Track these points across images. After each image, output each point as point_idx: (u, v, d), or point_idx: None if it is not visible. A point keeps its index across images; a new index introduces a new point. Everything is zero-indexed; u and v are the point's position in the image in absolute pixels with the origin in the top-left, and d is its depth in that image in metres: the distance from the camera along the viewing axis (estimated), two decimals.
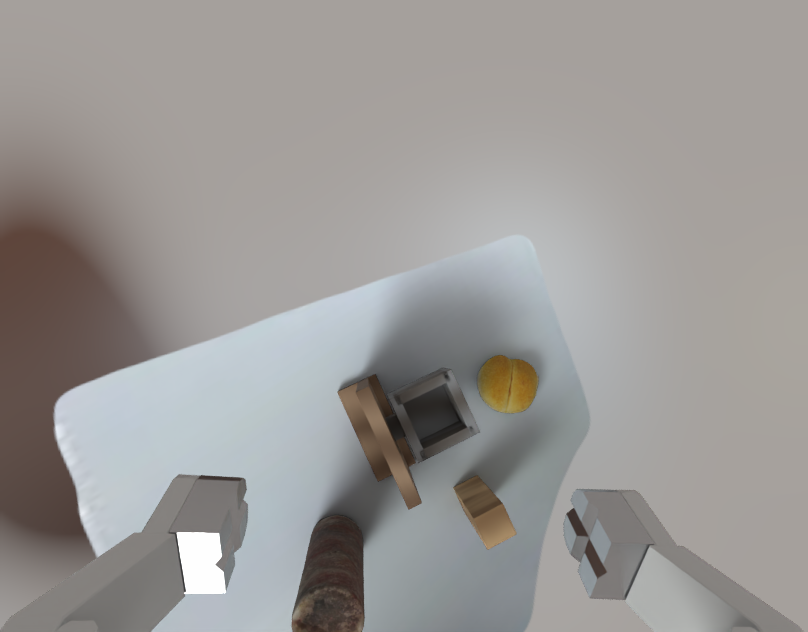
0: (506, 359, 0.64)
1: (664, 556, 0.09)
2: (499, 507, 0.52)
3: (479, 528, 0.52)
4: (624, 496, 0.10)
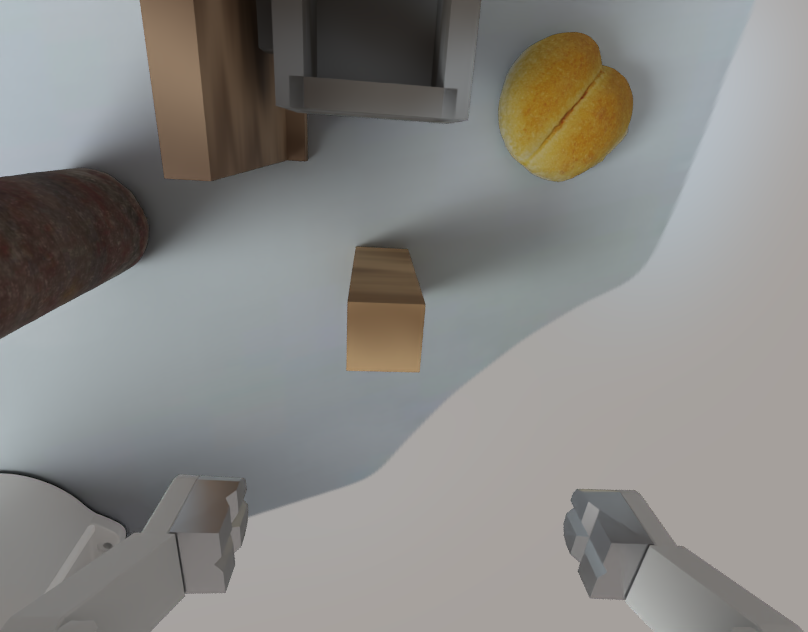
0: (598, 50, 0.27)
1: (664, 556, 0.09)
2: (414, 308, 0.22)
3: (350, 325, 0.23)
4: (624, 495, 0.10)
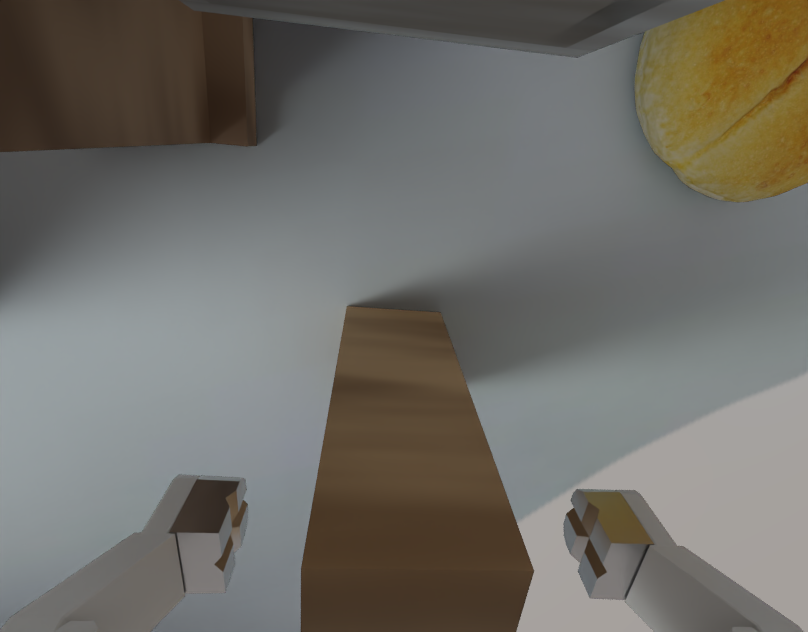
0: None
1: (664, 556, 0.09)
2: (499, 580, 0.08)
3: (310, 621, 0.08)
4: (624, 495, 0.10)
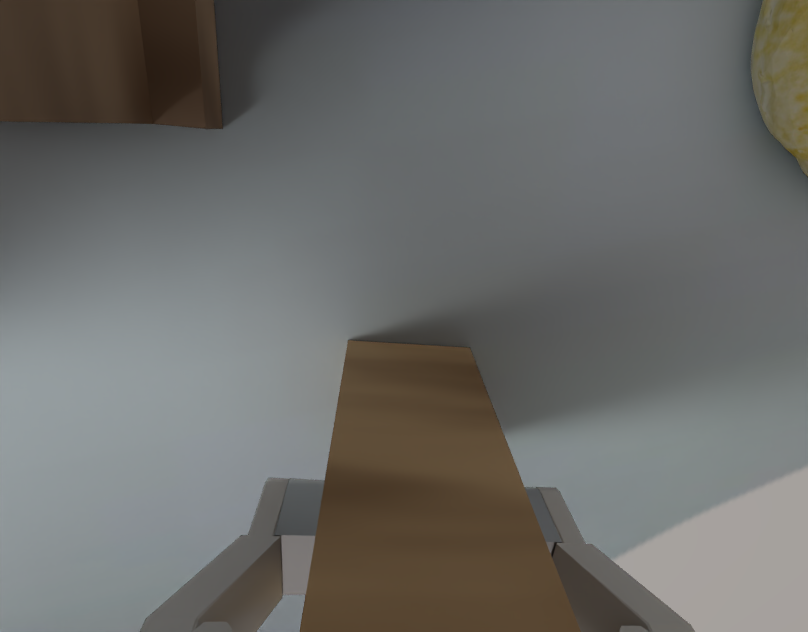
0: None
1: (569, 553, 0.09)
2: None
3: None
4: (542, 492, 0.10)
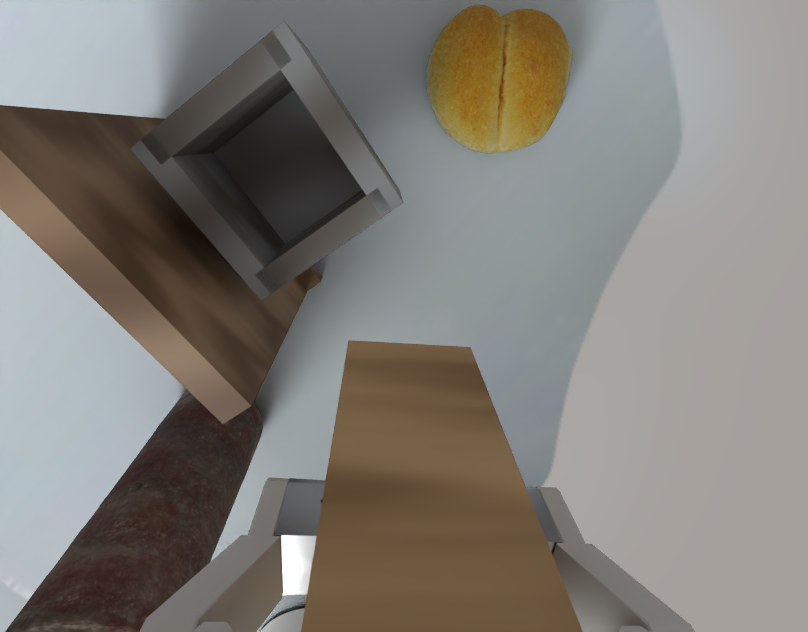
0: (490, 11, 0.26)
1: (569, 553, 0.09)
2: None
3: None
4: (542, 492, 0.10)
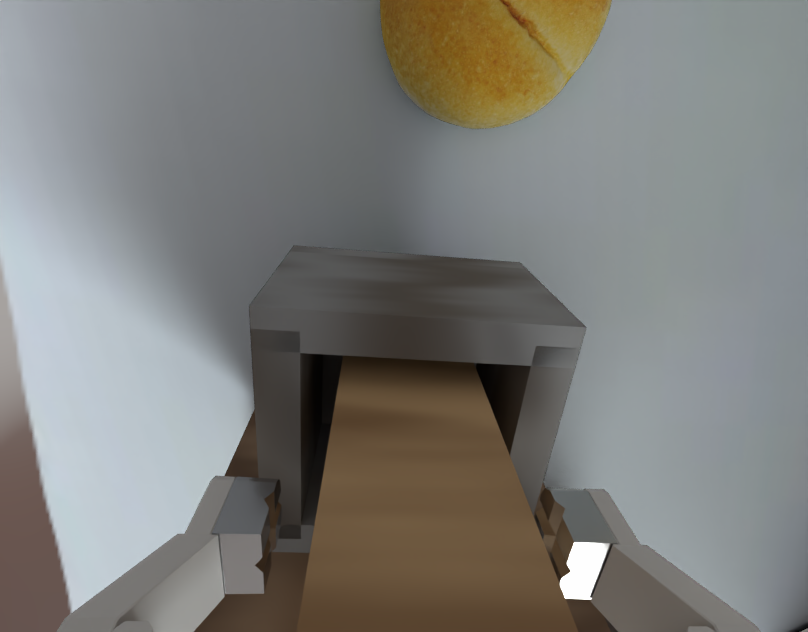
0: None
1: (627, 554, 0.09)
2: None
3: None
4: (591, 494, 0.10)
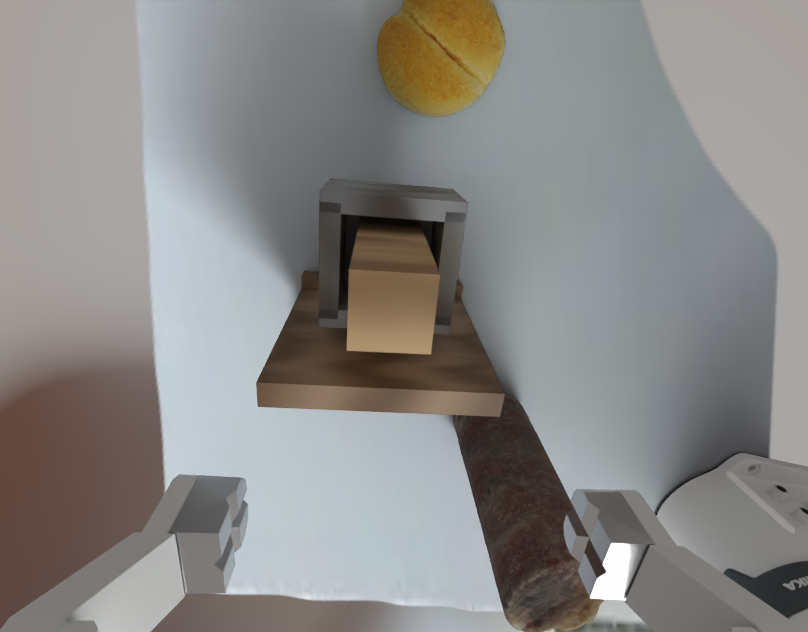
0: (393, 21, 0.29)
1: (664, 556, 0.09)
2: (426, 279, 0.19)
3: (351, 298, 0.19)
4: (624, 495, 0.10)
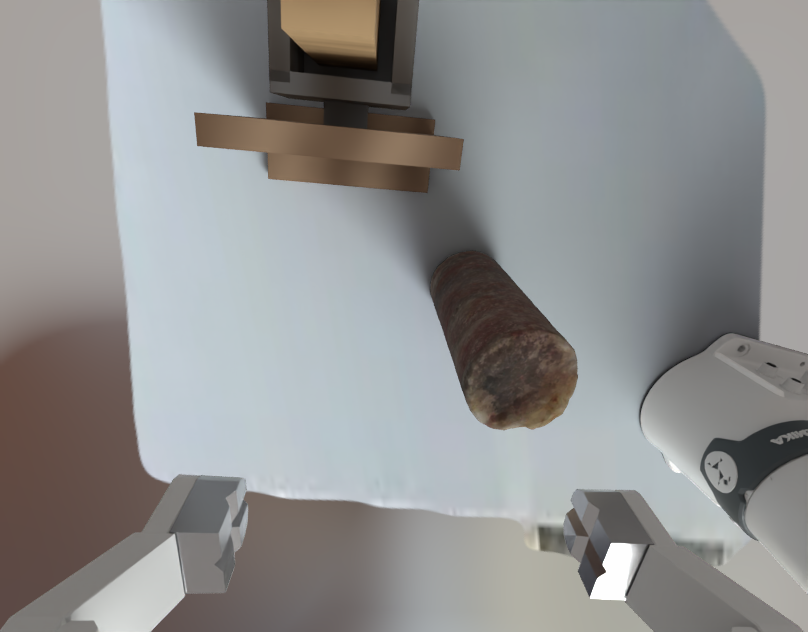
0: None
1: (664, 556, 0.09)
2: None
3: None
4: (624, 495, 0.10)
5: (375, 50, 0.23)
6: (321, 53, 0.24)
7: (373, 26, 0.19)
